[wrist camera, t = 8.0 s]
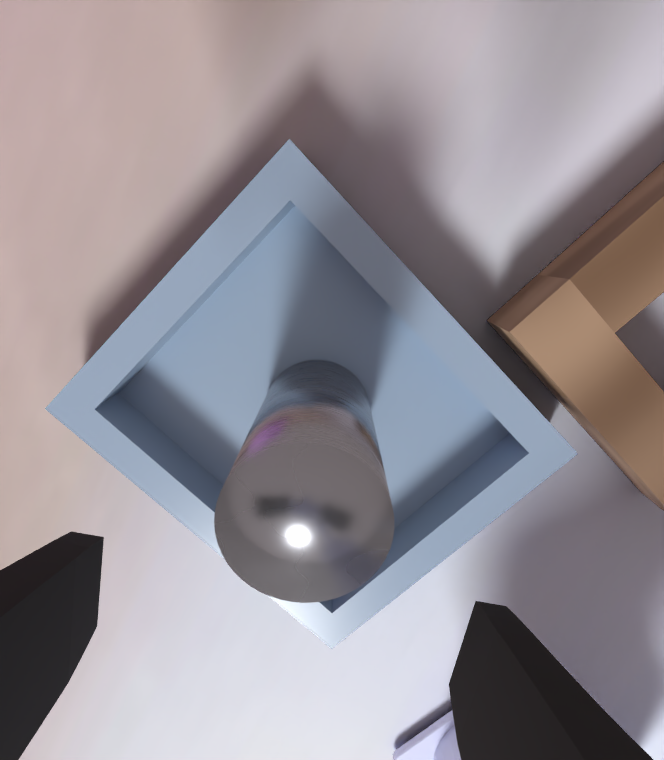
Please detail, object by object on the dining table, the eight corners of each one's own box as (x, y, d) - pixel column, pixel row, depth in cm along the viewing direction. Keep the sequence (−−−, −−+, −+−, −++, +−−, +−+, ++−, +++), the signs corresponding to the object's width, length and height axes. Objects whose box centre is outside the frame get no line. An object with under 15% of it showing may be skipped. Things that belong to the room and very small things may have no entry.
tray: (547, 427, 19) (578, 453, 17) (332, 603, 21) (331, 649, 19) (296, 154, 17) (289, 138, 14) (82, 388, 19) (44, 408, 16)
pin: (391, 413, 18) (431, 531, 11) (315, 478, 19) (301, 632, 11) (319, 337, 18) (307, 405, 10) (243, 408, 18) (176, 521, 11)
